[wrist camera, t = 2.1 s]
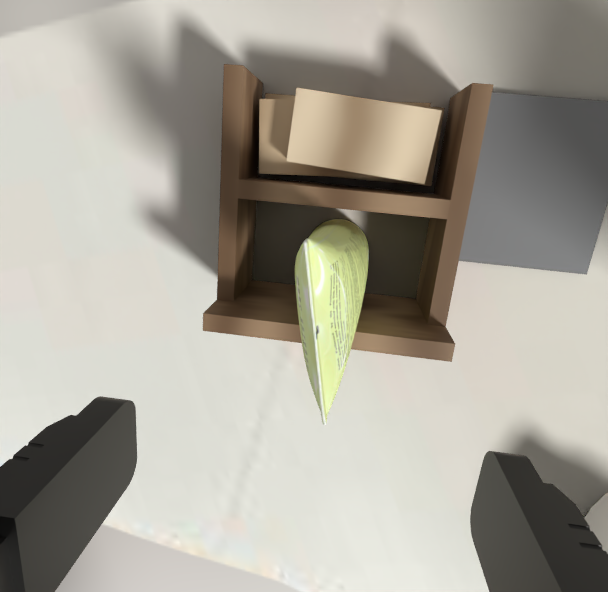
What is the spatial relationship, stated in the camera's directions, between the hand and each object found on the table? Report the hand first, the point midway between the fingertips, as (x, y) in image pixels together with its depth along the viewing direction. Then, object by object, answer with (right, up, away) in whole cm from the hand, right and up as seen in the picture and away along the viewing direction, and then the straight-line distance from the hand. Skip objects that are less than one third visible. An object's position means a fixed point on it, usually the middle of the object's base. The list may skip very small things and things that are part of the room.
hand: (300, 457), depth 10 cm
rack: (+3, +11, +24) cm, 27 cm away
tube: (+3, +8, +25) cm, 27 cm away
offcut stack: (+4, +15, +23) cm, 27 cm away
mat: (+17, +12, +22) cm, 30 cm away
